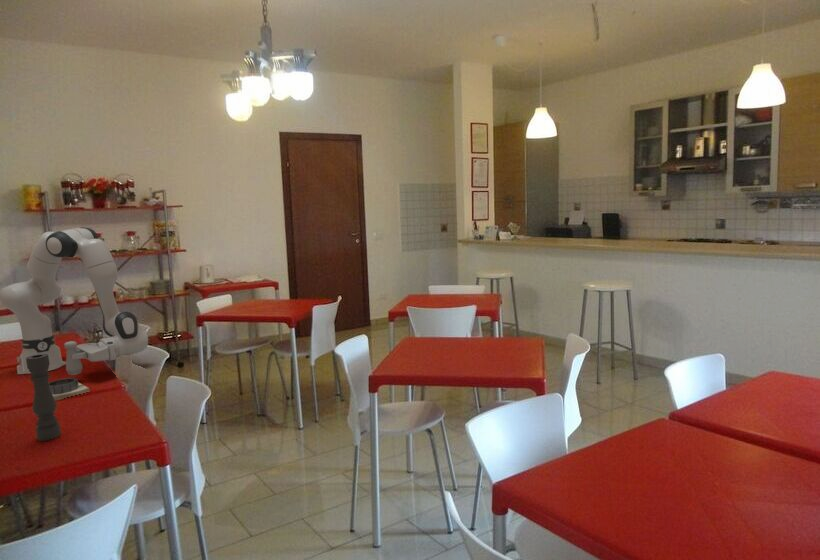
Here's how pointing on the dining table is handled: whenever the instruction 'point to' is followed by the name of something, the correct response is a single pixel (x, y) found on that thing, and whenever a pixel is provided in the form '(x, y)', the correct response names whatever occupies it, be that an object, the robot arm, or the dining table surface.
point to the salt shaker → (72, 364)
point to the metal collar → (63, 385)
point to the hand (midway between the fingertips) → (69, 356)
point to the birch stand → (72, 392)
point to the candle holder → (43, 398)
